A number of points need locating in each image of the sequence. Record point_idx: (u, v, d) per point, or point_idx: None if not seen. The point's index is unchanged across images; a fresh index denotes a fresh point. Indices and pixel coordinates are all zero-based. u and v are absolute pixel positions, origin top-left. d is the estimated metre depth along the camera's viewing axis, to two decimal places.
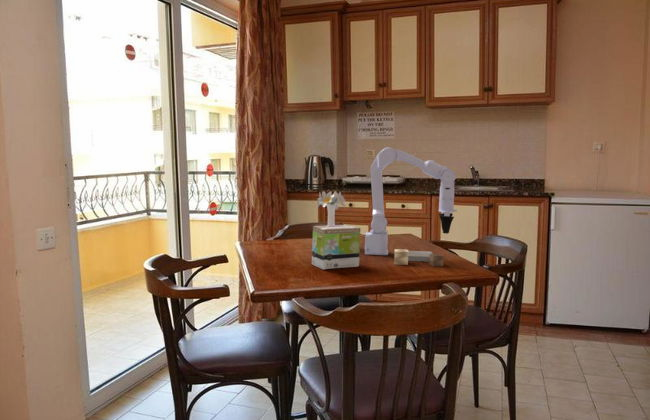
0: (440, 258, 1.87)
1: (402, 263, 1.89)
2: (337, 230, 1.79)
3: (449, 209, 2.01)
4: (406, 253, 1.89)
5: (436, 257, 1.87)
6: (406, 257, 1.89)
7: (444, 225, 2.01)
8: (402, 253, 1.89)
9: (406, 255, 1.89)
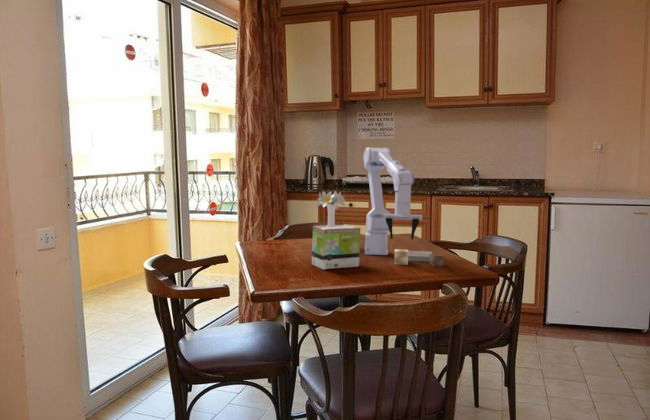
0: (440, 258, 1.87)
1: (402, 263, 1.89)
2: (337, 230, 1.79)
3: (395, 213, 1.89)
4: (406, 253, 1.89)
5: (436, 257, 1.87)
6: (406, 257, 1.89)
7: None
8: (402, 253, 1.89)
9: (406, 255, 1.89)
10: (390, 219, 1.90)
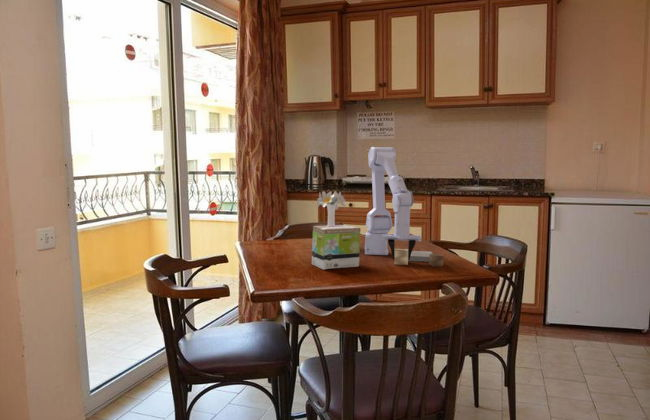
0: (440, 258, 1.87)
1: (402, 263, 1.89)
2: (337, 230, 1.79)
3: (394, 234, 1.90)
4: (406, 253, 1.89)
5: (436, 257, 1.87)
6: (406, 257, 1.89)
7: None
8: (402, 253, 1.89)
9: (406, 255, 1.89)
10: (389, 240, 1.91)
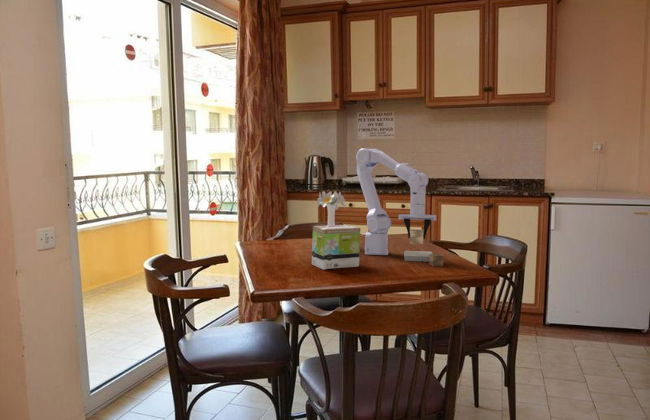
0: (440, 258, 1.87)
1: (417, 242, 1.96)
2: (337, 230, 1.79)
3: (410, 214, 1.97)
4: (421, 233, 1.95)
5: (436, 257, 1.87)
6: (421, 237, 1.95)
7: None
8: (417, 233, 1.95)
9: (421, 235, 1.95)
10: (405, 219, 1.98)
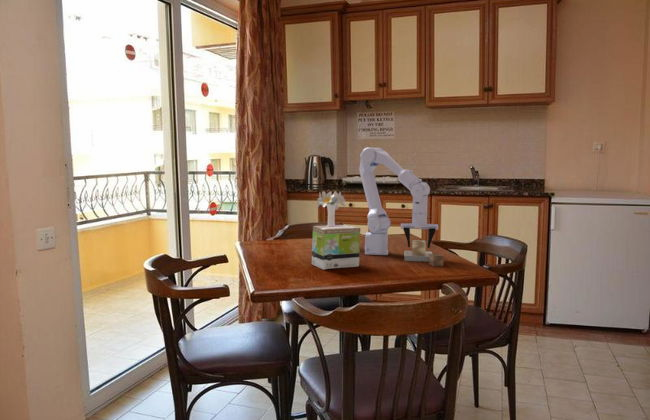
0: (440, 258, 1.87)
1: (420, 253, 1.98)
2: (337, 230, 1.79)
3: (412, 223, 1.99)
4: (424, 244, 1.97)
5: (436, 257, 1.87)
6: (424, 247, 1.97)
7: None
8: (420, 244, 1.97)
9: (424, 246, 1.97)
10: (408, 229, 1.99)
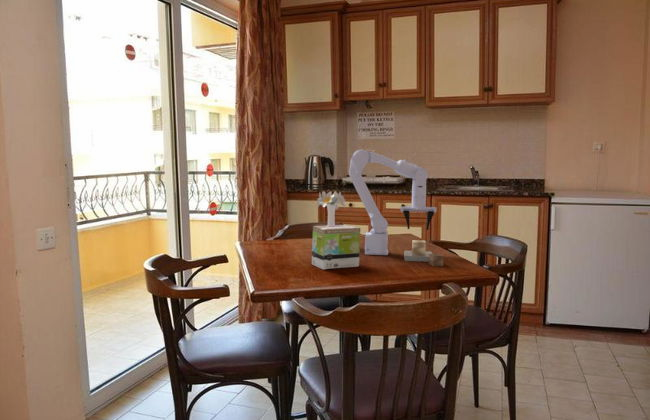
0: (440, 258, 1.87)
1: (420, 253, 1.98)
2: (337, 230, 1.79)
3: (412, 206, 2.08)
4: (424, 244, 1.97)
5: (436, 257, 1.87)
6: (424, 247, 1.97)
7: None
8: (420, 244, 1.97)
9: (424, 246, 1.97)
10: (407, 211, 2.08)
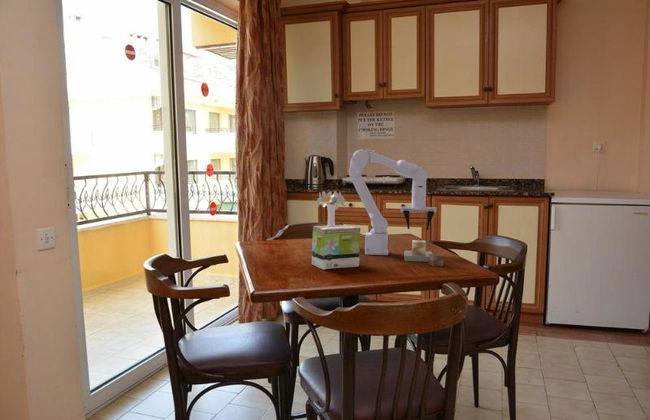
0: (440, 258, 1.87)
1: (420, 253, 1.98)
2: (337, 230, 1.79)
3: (412, 206, 2.08)
4: (424, 244, 1.97)
5: (436, 257, 1.87)
6: (424, 247, 1.97)
7: None
8: (420, 244, 1.97)
9: (424, 246, 1.97)
10: (407, 211, 2.08)
